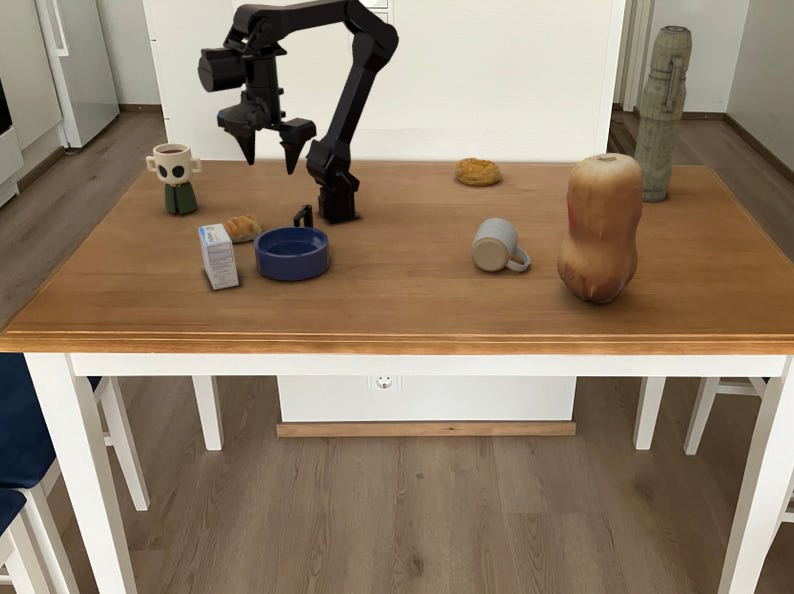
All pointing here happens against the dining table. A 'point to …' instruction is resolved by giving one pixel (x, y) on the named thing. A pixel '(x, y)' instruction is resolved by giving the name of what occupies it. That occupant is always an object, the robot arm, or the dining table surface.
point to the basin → (292, 253)
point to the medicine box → (218, 256)
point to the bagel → (477, 172)
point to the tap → (304, 216)
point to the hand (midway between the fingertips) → (270, 169)
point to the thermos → (662, 109)
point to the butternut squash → (601, 226)
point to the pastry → (243, 228)
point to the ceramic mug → (497, 246)
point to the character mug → (176, 175)
